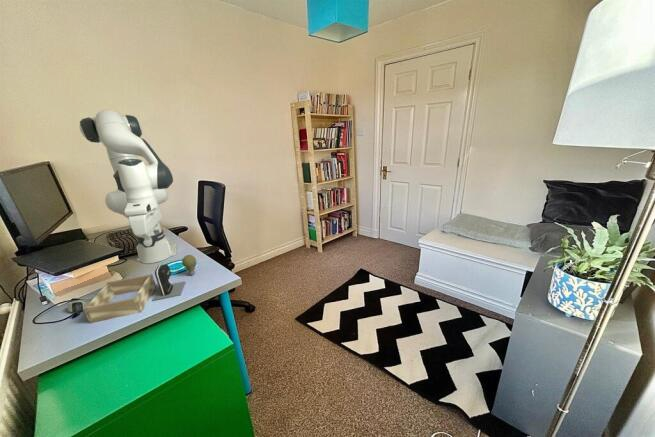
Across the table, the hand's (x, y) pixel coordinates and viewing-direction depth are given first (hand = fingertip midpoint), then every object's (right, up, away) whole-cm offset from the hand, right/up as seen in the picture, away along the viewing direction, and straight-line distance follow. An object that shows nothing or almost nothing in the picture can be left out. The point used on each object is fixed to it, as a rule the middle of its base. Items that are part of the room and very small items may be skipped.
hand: (153, 238), depth 98 cm
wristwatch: (-27, -28, 0) cm, 39 cm away
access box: (-12, -26, +2) cm, 29 cm away
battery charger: (+1, -23, +7) cm, 24 cm away
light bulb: (+5, -19, +20) cm, 28 cm away
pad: (+1, -23, +8) cm, 24 cm away
